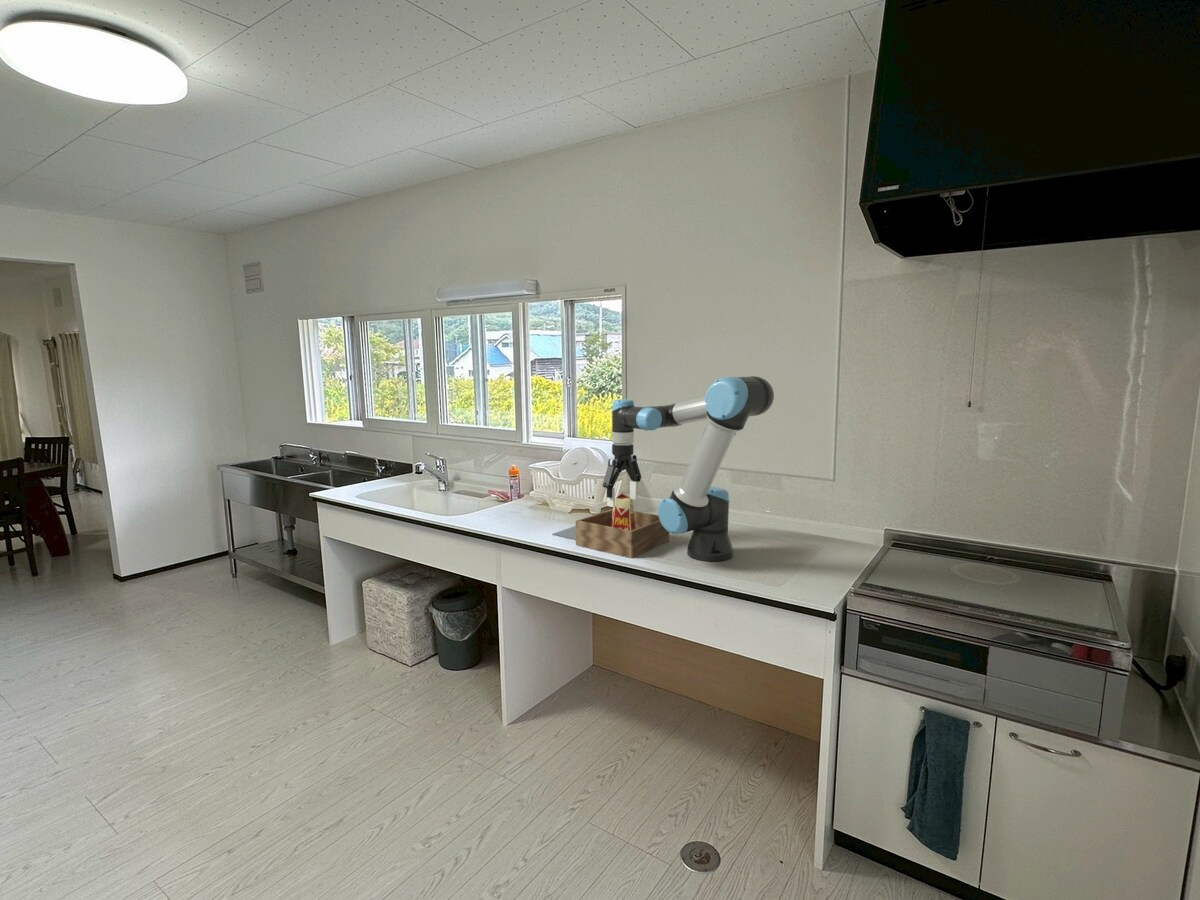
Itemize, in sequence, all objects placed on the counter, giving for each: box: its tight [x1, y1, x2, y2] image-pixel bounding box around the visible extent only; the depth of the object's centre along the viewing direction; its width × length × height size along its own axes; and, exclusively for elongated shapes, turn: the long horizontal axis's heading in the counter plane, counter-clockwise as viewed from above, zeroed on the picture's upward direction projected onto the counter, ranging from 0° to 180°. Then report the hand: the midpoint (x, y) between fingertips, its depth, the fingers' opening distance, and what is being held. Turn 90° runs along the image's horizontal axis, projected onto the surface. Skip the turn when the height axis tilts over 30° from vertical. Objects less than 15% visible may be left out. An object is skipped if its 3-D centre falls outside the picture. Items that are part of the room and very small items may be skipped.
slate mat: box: [551, 525, 576, 541], centre depth 232 cm, size 14×14×1 cm
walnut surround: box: [575, 508, 670, 559], centre depth 219 cm, size 24×24×9 cm
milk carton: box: [611, 490, 636, 531], centre depth 218 cm, size 9×9×20 cm
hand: (622, 502), depth 218 cm, fingers open, 13 cm apart
